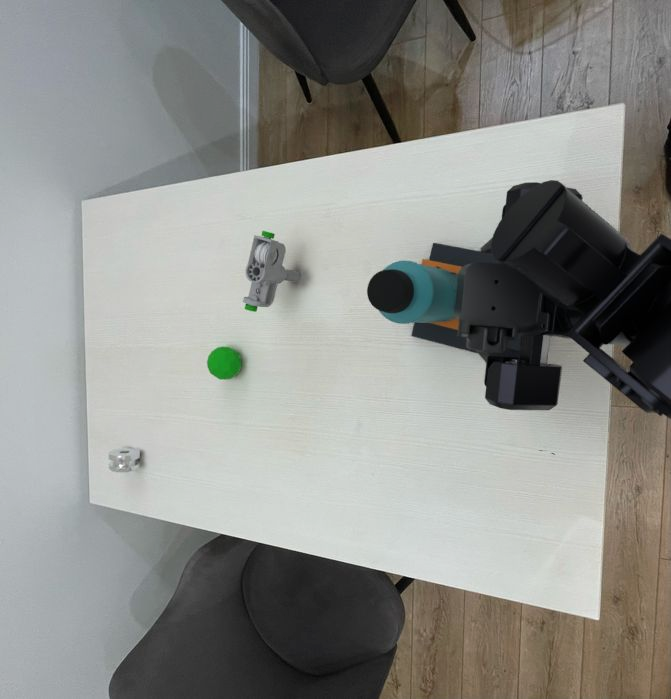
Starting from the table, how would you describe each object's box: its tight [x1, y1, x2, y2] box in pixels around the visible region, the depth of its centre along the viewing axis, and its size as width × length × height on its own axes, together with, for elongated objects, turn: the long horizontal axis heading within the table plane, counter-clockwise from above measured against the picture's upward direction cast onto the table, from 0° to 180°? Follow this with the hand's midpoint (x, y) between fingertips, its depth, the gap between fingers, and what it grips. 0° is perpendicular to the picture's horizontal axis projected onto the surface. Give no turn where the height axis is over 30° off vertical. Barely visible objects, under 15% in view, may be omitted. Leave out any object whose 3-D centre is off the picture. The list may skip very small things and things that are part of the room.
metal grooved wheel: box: [108, 447, 141, 474], centre depth 92 cm, size 5×3×5 cm, turn 87°
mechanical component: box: [242, 230, 302, 313], centre depth 73 cm, size 3×10×10 cm, turn 163°
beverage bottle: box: [366, 260, 458, 325], centre depth 58 cm, size 6×7×20 cm
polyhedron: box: [206, 346, 242, 380], centre depth 81 cm, size 5×5×5 cm
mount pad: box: [410, 242, 521, 354], centre depth 65 cm, size 17×12×1 cm
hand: (479, 297), depth 54 cm, fingers open, 9 cm apart
